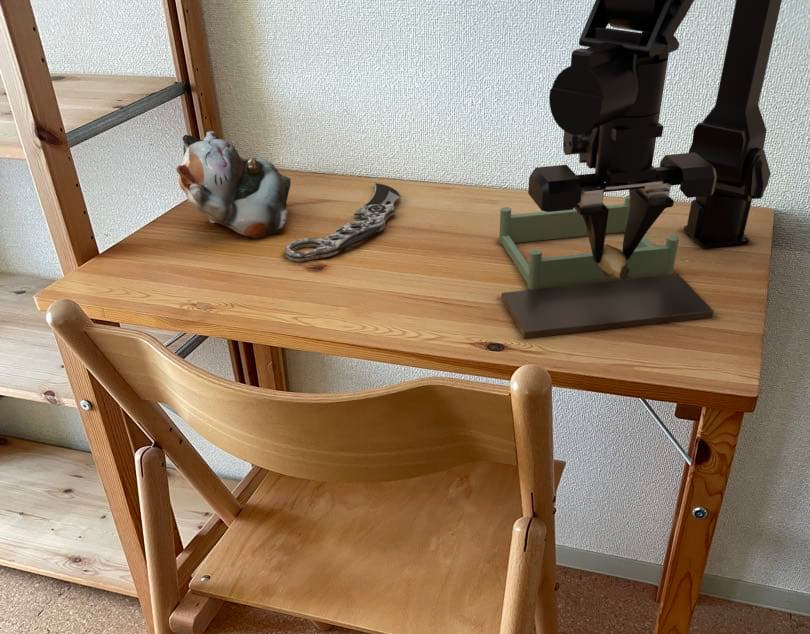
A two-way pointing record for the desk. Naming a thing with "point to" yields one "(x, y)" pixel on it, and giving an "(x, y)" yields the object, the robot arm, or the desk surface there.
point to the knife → (350, 228)
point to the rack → (577, 266)
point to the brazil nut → (613, 263)
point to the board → (604, 305)
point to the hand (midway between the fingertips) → (611, 260)
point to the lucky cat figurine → (233, 187)
